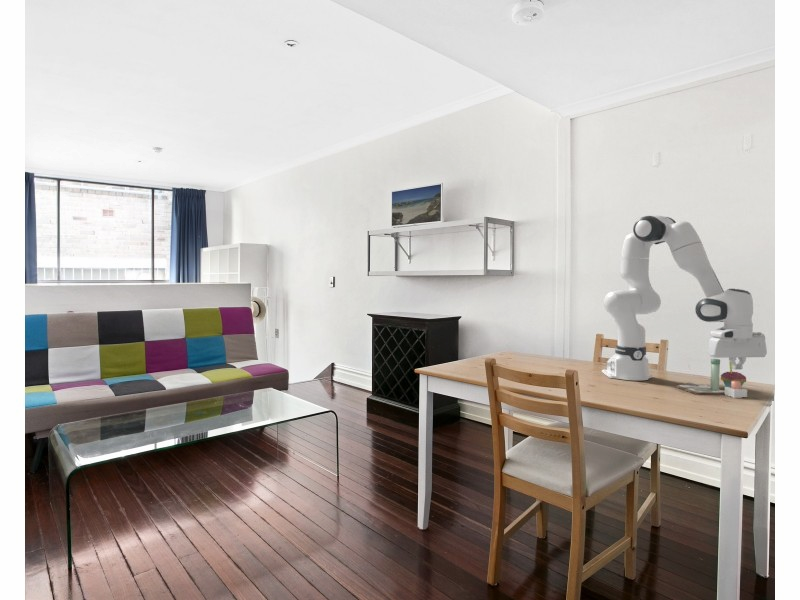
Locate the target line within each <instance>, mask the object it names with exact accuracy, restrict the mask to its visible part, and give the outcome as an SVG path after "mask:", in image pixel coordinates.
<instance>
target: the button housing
mask: <svg viewBox="0 0 800 600" xmlns="http://www.w3.org/2000/svg"><path fill="white" fill-rule="evenodd" d="M724 390H725V393H724V394H725V396H727V395H728V396H727V397H730V396H731V398H734V399H735V398H737V399H738V398H739V399H743V398H742V397H747V398H748V389H747V388H744V387H741V389H732V388H731V387H725V386H724ZM724 394H723V395H724Z"/></svg>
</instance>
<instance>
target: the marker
mask: <svg viewBox="0 0 800 600" xmlns="http://www.w3.org/2000/svg"><path fill="white" fill-rule="evenodd" d="M720 369H721V359H720V358H719V359H718V358H710V390H713V391H719V389H720V375H721V373H720Z"/></svg>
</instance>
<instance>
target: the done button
mask: <svg viewBox="0 0 800 600" xmlns="http://www.w3.org/2000/svg"><path fill="white" fill-rule="evenodd" d="M731 388H732V389H741V388H742V387H741V382H740V381H731Z"/></svg>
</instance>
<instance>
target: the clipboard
mask: <svg viewBox="0 0 800 600" xmlns="http://www.w3.org/2000/svg"><path fill="white" fill-rule="evenodd" d="M710 386H711V384H697V383H694V382H685V384H678V385H677V384H676V385H674V388H677V389H679V388H680V389H679V390H682V391H684V392H687V391H688V392H687V393H691V394H693V395H697V394H702V395H724V393H725V389H722V388H719V391H713V390H710Z"/></svg>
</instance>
